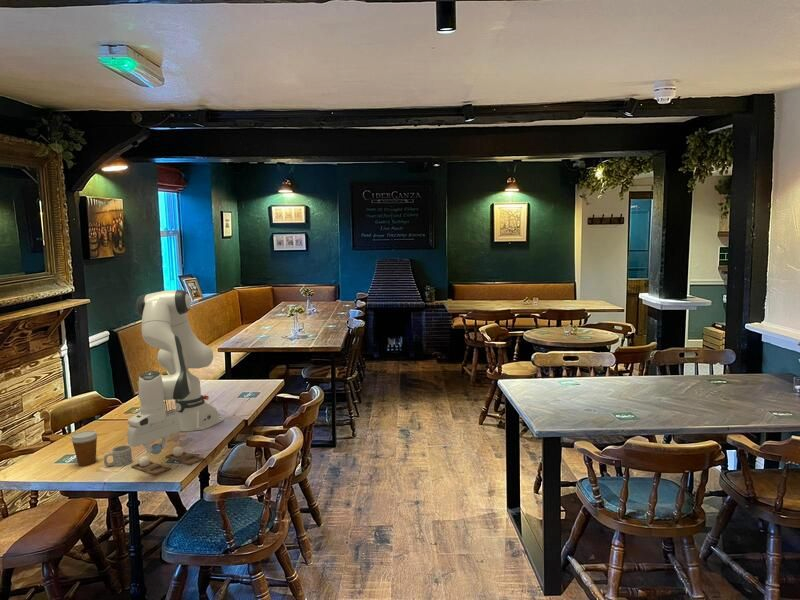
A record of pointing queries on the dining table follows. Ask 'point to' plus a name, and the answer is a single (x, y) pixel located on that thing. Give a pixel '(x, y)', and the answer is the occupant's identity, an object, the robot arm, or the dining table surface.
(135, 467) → the tray
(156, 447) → the ball blue
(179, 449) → the ivory ball
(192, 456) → the rack
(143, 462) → the ivory ball
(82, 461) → the disposable coffee cup
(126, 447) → the mug
